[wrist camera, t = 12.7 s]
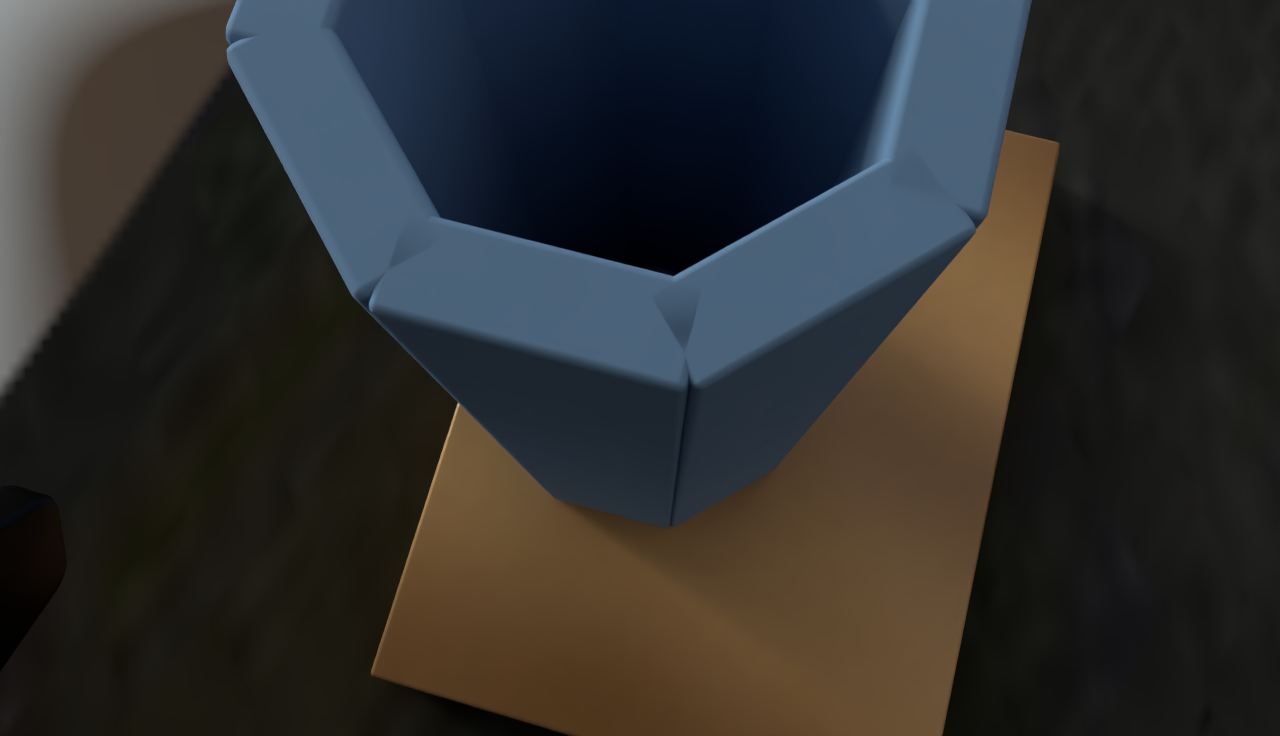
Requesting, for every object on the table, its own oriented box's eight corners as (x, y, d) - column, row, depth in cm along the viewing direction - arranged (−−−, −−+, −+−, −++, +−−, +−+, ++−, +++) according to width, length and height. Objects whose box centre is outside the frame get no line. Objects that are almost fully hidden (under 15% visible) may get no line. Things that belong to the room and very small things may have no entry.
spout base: (904, 824, 17) (984, 896, 13) (387, 672, 17) (304, 692, 13) (1037, 169, 19) (1140, 52, 15) (583, 59, 20) (563, -81, 16)
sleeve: (757, 553, 16) (940, 460, 6) (466, 474, 17) (130, 249, 6) (826, 271, 18) (1085, -248, 7) (549, 202, 18) (387, -390, 7)
